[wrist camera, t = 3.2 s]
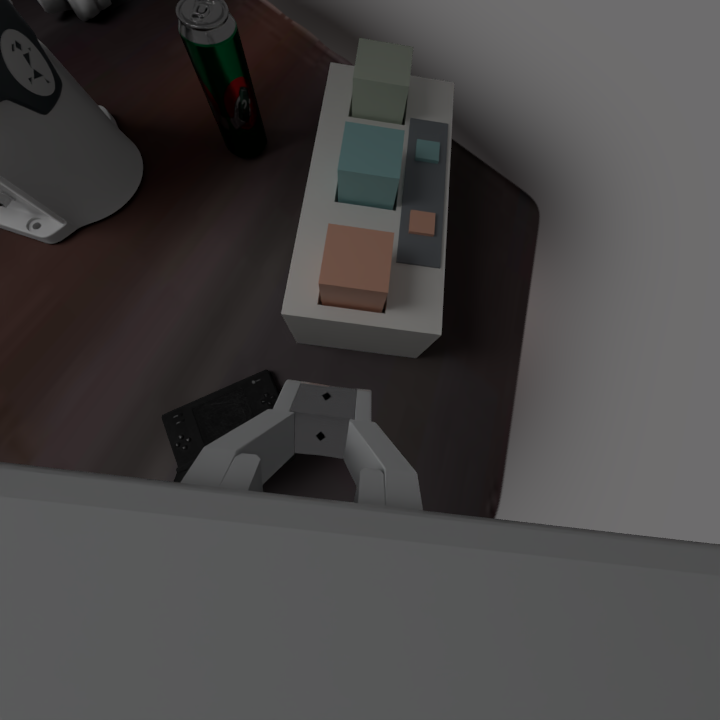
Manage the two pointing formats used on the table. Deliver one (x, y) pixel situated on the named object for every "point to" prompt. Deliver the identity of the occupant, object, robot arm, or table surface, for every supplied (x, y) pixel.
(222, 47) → the soda can
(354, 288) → the terracotta key
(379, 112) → the sage green key
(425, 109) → the keypad
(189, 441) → the handheld gaming console
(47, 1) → the bunny figurine
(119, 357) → the table surface
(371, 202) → the teal key
